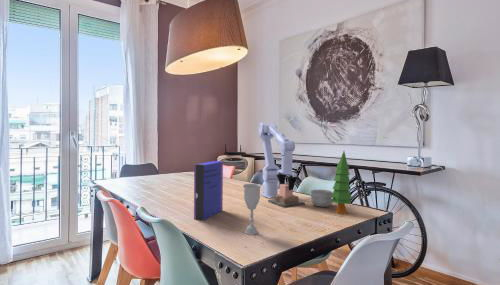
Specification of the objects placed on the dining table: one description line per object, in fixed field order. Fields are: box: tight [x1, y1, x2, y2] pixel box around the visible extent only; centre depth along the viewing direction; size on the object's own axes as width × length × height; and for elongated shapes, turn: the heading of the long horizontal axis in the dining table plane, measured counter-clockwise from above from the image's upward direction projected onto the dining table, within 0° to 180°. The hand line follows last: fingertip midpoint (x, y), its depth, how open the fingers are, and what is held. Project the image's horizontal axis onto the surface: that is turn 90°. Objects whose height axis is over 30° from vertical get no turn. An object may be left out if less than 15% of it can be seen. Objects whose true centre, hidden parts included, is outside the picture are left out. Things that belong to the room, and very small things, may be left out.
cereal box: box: [193, 160, 224, 221], centre depth 138 cm, size 17×5×24 cm, turn 157°
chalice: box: [242, 183, 262, 235], centre depth 114 cm, size 7×7×18 cm
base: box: [267, 194, 306, 208], centre depth 161 cm, size 14×14×4 cm
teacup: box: [310, 189, 334, 208], centre depth 156 cm, size 14×11×8 cm
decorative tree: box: [331, 151, 352, 215], centre depth 144 cm, size 10×9×30 cm
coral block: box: [278, 183, 294, 197], centre depth 161 cm, size 5×5×6 cm
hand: (286, 188), depth 161 cm, fingers open, 7 cm apart
